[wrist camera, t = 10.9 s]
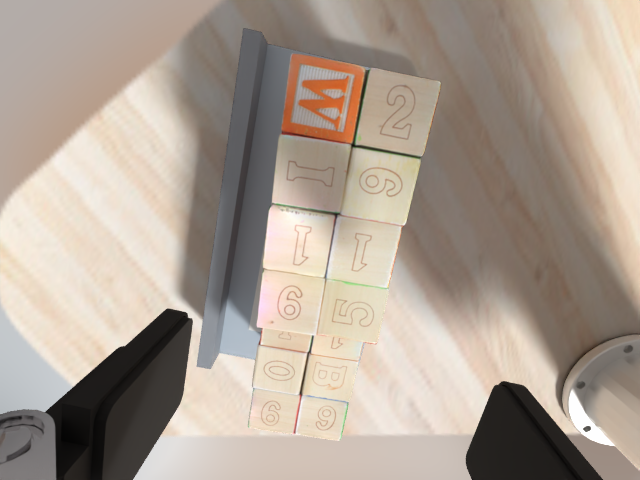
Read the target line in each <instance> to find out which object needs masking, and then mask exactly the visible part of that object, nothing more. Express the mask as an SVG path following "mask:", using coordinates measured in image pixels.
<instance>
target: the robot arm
mask: <svg viewBox="0 0 640 480" xmlns="http://www.w3.org/2000/svg"><path fill="white" fill-rule="evenodd" d="M192 324H193V320H192V319H191V318H188V314H187V313H186V312H182V311H177V310H173V309H166V310H165V311H164V312H163V313H161V314H160V315H159V316H158V317H157V318H156V319H155V320H154V321H153V322H151V323H150V324H149V325H148V326H147V327H146V328H145V329H144V330H143V331H141V332H140V333H139V334H138V335H137V336H136V337H135V338H134V339H133V340H132V341H130V342H129V343H128V344H127V345H126V346H123V347H119V348H118V349H116V350H115V351H114V352H113V353H112V354H110V355H109V356H108V357H107V358H106V359H105V360H104V361H102V362H101V363H100V364H99V365H98V366H97V367H96V368H95V369H93V370H92V371H91V372H90V373H89V374H88V375H87V376H85V377H84V378H83V379H82V380H81V381H80V382H79V383H77V384H76V385H75V386H74V387H73V388H72V389H71V390H70V391H68V392H67V393H66V394H65V395H64V396H63V397H62V398H60V399H59V400H58V401H57V402H56V403H55V404H54V405H53V406H51V407H50V408H49V409H48V410H47V411H46V412H42V411H38V410H17V411H10V412H7V413H3V414H0V480H133V479H134V477H135V475H136V474H137V472H138V470H139V469H140V467H141V466H142V464H143V463H144V461H145V459H146V458H147V456H148V455H149V453H150V451H151V450H152V448H153V447H154V445H155V443H156V442H157V440H158V439H159V437H160V435H161V434H162V432H163V431H164V429H165V427H166V426H167V424H168V423H169V421H170V419H171V418H172V416H173V415H174V413H175V411H176V410H177V408H178V406H179V405H180V402H181V400H182V396H183V391H184V384H185V376H186V369H187V361H188V354H189V346H190V339H191V331H192ZM562 403H563V409H564V411H565V414H566V416H567V418H568V419H569V421H570V422H571V423H572V424H573V426H574V427H575V428H576V429H577V430H578V431H579V432H580V433H581V434H582V435H584V436H586V437H587V438H589V439H591V440H593V441H596V442H598V443H602V444H606V445H614V446H615V447H616V448H617V449H618V450H619V451H620V452H621V453H623V455H624V456H625V457H626V458H627V459H628V460H629V461H630V462H631V463H632V464H633V465H634V466H635V467H636V468H637V469H638V470H639V471H640V335H628V336H622V337H619V338H615V339H612V340H609V341H607V342H605V343H603V344H600V345H598V346H597V347H595V348H594V349H592V350H591V351H589V352H588V353H586V354H585V355H584V356H583V357H582V358H581V359H580V360H579V361H578V362H577V363H576V365H575V366H574V367H573V368H572V370H571V371H570V373H569V375H568V377H567V379H566V381H565V384H564V388H563V394H562ZM466 466H467V469H468V472H469V474H470V476H471V479H472V480H603V479H602V478H601V477H600V476H599V475H598V473H597V472H596V471H595V470H594V468H593V467H592V466H591V465H590V464H589V462H588V461H587V460H586V459H585V458H584V457H583V455H582V454H581V453H580V452H579V450H578V449H577V448H576V447H575V446H574V444H573V443H572V442H571V441H570V440H569V438H568V437H567V436H566V435H565V434H564V432H563V431H562V430H561V429H560V428H559V426H558V425H557V424H556V423H555V422H554V420H553V419H552V418H551V417H550V416H549V414H548V413H547V412H546V411H545V410H544V408H543V407H542V406H541V405H540V404H539V402H538V401H537V400H536V399H535V398H534V396H533V395H532V394H531V393H530V392H529V390H528V389H527V388H526V387H525V386H523V385H519V384H515V383H510V382H505V381H503V382H501V383H500V384H499V385H495V386H494V388H493V389H492V392H491V394H490V397H489V399H488V402H487V404H486V407H485V409H484V412H483V414H482V417H481V419H480V422H479V424H478V427H477V429H476V432H475V434H474V437H473V439H472V442H471V444H470V447H469V449H468V451H467V454H466Z"/></svg>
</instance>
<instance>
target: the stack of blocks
mask: <svg viewBox="0 0 640 480" xmlns="http://www.w3.org/2000/svg"><path fill="white" fill-rule="evenodd" d="M440 89H441V82H440V81H437V80H431V79H426V78H421V77H416V76H411V75H407V74H402V73H397V72H392V71H387V70H383V69H378V68H371V69H369V70H366V69H365V67H362V66H359V65H355V64H350V63H345V62H340V61H334V60H329V59H324V58H318V57H313V56H307V55H302V54H291V57H290V64H289V72H288V80H287V88H286V96H285V103H284V110H283V118H282V125H281V130H282V133H281V134H280V135H279V139H278V147H277V156H276V165H275V174H274V183H273V193H272V205H271V206H270V207H269V210H268V218H267V229H266V236H265V245H264V254H263V272H262V278H261V287H260V296H259V304H258V313H257V322H256V327H259V328H262V331H261V337H260V340H259V343H258V346H257V353H256V359H255V366H254V373H253V381H252V387H253V395H252V402H251V409H250V416H249V422H248V428H253V429H260V430H266V431H273V432H279V433H284V434H291V435H292V434H294V433H295V434H298V435H304V436H310V437H317V438H324V439H330V440H336V441H340V439H341V437H342V432H343V428H344V423H345V418H346V414H347V409H348V402H349V401H350V399H351V395H352V390H353V386H354V381H355V377H356V372H357V368H358V363H359V359H360V356H361V351H362V347H363V342H364V343H370V344H377V342H378V338H379V333H380V329H381V324H382V320H383V315H384V311H385V307H386V303H387V298H388V294H389V288H388V286H389V282H390V279H391V275H392V271H393V266H394V262H395V257H396V253H397V249H398V245H399V241H400V236H401V230H402V227H403V226H404V225H405V224H406V221H407V217H408V213H409V209H410V205H411V201H412V197H413V192H414V188H415V184H416V180H417V176H418V172H419V168H420V163H421V159H420V158H421V157H422V155H423V154H424V152H425V148H426V144H427V140H428V136H429V132H430V128H431V125H432V121H433V117H434V113H435V109H436V105H437V101H438V97H439V93H440Z"/></svg>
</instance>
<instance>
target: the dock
mask: <svg viewBox="0 0 640 480" xmlns="http://www.w3.org/2000/svg"><path fill="white" fill-rule="evenodd" d="M291 54H302V55H307V56H313V57H318V58H324V59H329V60H334V59H330V58H326V57H322V56H317V55H313V54H309V53H305V52H300V51H296V50H292V49H288V48H283V47H279V46H275V45H271V44H268V43H267V41H266V39H265V38H264V36H263V34H262V32H259V31H254V30H250V29H246V28H244V29H243V36H242V43H241V50H240V58H239V65H238V72H237V79H236V86H235V94H234V101H233V108H232V115H231V122H230V130H229V137H228V144H227V151H226V158H225V166H224V173H223V180H222V187H221V194H220V202H219V209H218V216H217V223H216V230H215V238H214V245H213V252H212V259H211V266H210V274H209V281H208V288H207V295H206V302H205V309H204V317H203V324H202V331H201V338H200V345H199V353H198V360H197V367H202V368H207V369H211V367H212V366H213V364H214V362H215V360H216V358H217V356H218V354H219V353H223V354H228V355H233V356H239V357H244V358H249V359H254V360H255V359H256V353H257V346H258V343H259V340H260V337H261V331H262V328H259V327H256V322H257V313H258V304H259V296H260V287H261V278H262V272H263V254H264V245H265V236H266V229H267V218H268V210H269V207H270V206H271V205H272V193H273V183H274V174H275V165H276V156H277V147H278V139H279V135H280V134H281V133H282V130H281V125H282V118H283V110H284V103H285V96H286V88H287V80H288V72H289V64H290V57H291ZM334 61H339V60H334ZM340 62H343V61H340ZM345 63H347V62H345ZM350 64H351V63H350ZM355 65H356V64H355ZM359 66H360V65H359ZM362 67H364V66H362ZM365 69H366V70H369V69H371V68H368V67H365ZM364 345H365V343H364V342H363V347H362V351H361V355H362V352H363V348H364ZM360 359H361V356H360ZM360 359H359V362H360ZM358 366H359V363H358ZM357 369H358V368H357ZM356 373H357V372H356Z"/></svg>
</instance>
